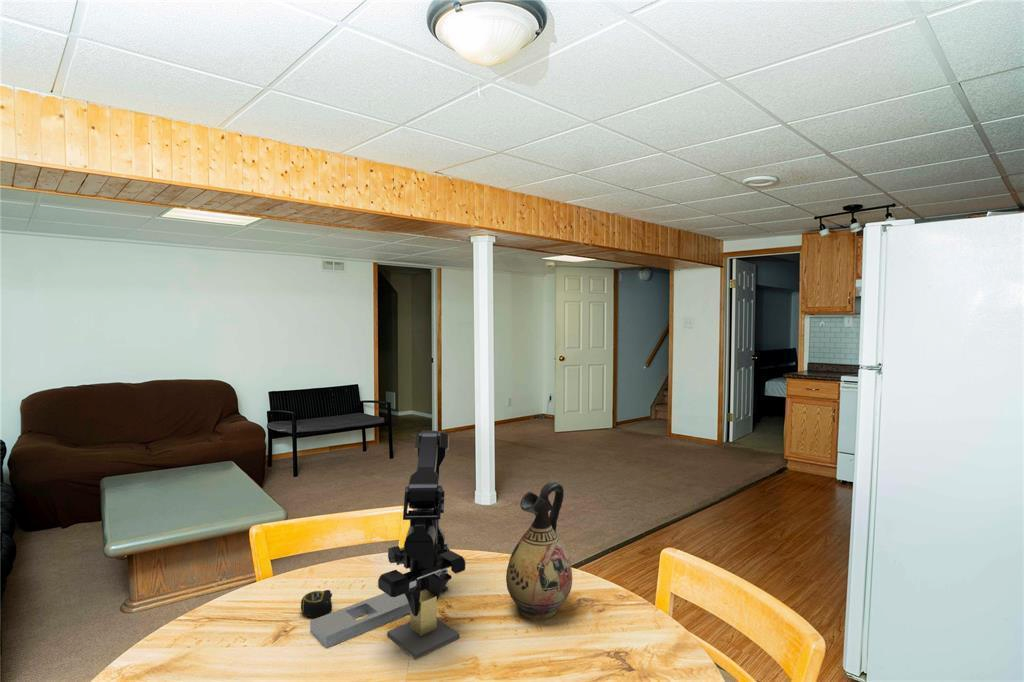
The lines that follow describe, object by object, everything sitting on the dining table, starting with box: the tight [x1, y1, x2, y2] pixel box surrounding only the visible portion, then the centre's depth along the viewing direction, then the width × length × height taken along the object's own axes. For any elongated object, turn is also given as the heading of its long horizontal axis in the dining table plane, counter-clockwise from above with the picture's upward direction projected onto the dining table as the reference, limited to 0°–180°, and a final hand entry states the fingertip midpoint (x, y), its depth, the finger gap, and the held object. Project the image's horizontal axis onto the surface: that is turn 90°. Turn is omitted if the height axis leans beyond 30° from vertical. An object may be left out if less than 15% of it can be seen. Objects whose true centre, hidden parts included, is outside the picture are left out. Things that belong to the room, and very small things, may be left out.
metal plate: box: [309, 592, 410, 649], centre depth 124 cm, size 22×8×2 cm, turn 133°
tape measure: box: [300, 589, 333, 618], centre depth 127 cm, size 7×7×4 cm
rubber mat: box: [386, 617, 461, 660], centre depth 118 cm, size 11×11×1 cm
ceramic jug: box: [505, 481, 573, 621], centre depth 129 cm, size 17×15×30 cm
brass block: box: [409, 590, 438, 636], centre depth 117 cm, size 4×4×7 cm
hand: (423, 611), depth 117 cm, fingers closed on brass block, 4 cm apart
